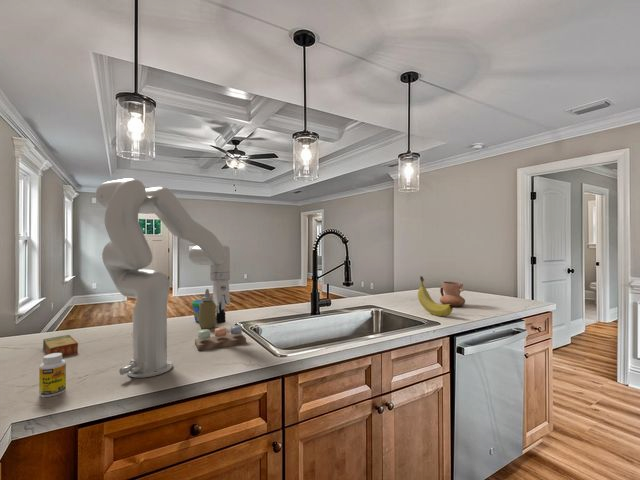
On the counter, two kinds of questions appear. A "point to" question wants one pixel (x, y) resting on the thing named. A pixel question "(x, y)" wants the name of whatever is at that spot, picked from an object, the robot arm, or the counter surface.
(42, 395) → the supplement bottle
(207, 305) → the squeeze bottle
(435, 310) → the banana
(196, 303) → the snack cup
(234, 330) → the button slate
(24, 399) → the counter surface
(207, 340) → the button board
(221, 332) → the button terracotta
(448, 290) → the ceramic jug
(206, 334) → the button sage
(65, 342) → the carton
